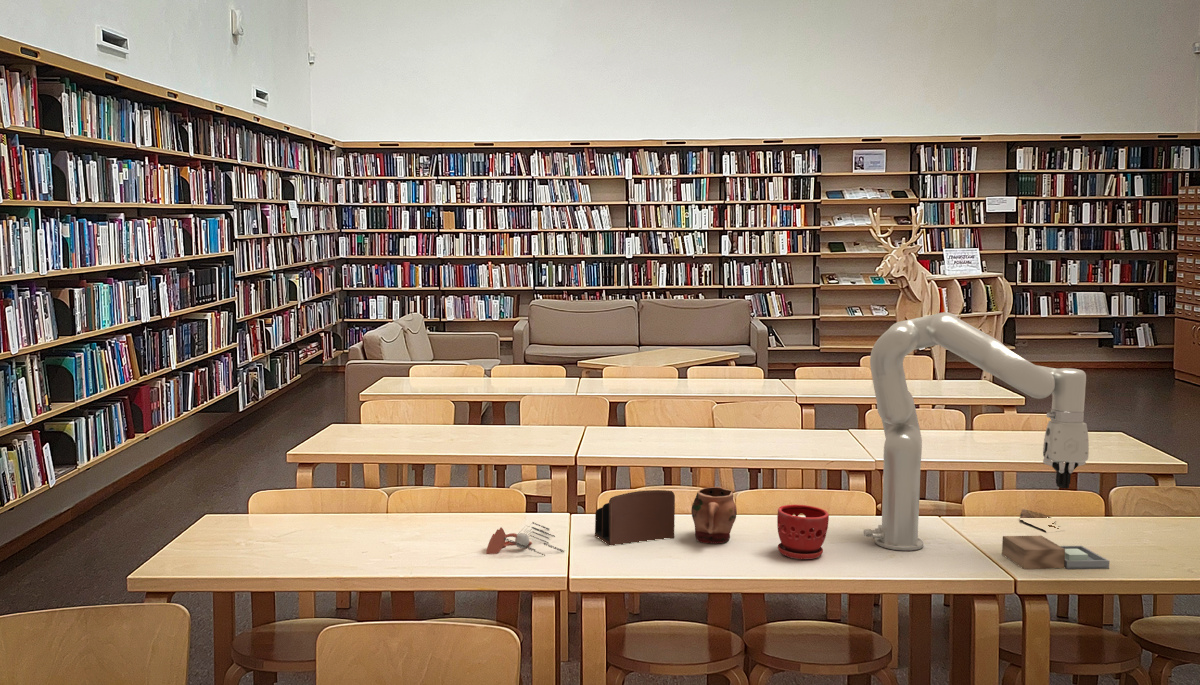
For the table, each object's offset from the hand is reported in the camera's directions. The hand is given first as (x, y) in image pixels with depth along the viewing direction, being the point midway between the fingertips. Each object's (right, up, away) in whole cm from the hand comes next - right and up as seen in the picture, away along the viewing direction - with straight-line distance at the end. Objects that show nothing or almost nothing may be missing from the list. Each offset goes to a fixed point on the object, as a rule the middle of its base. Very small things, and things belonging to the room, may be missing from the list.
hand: (1062, 487), depth 264 cm
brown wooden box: (-8, -19, 0) cm, 21 cm away
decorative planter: (-88, -17, +16) cm, 91 cm away
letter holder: (-110, -17, +19) cm, 112 cm away
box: (+4, -19, +1) cm, 20 cm away
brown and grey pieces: (-138, -18, +12) cm, 139 cm away
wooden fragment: (+10, -16, +40) cm, 44 cm away
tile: (+3, -17, +1) cm, 17 cm away
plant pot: (-66, -19, +4) cm, 69 cm away
